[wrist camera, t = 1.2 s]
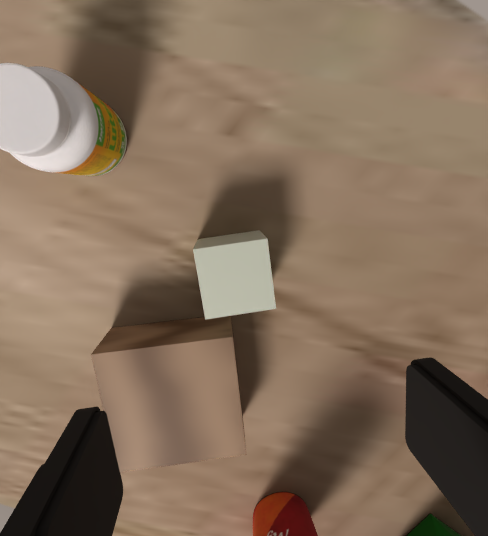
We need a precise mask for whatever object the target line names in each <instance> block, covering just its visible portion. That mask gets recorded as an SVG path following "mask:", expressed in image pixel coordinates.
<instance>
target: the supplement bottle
mask: <svg viewBox="0 0 488 536" xmlns="http://www.w3.org/2000/svg"><path fill="white" fill-rule="evenodd" d="M126 146H127V137H126V131H125V128H124V125H123V123H122V121H121V119H120V118H119V116H118V115H117V114H116V112H115V111H114V110H113V109H112V108H110V107H109V106H108V105H107V104H106V103H104V102H103V101H102V100H100V99H99V98H98V97H96V96H95V95H94V94H92V93H91V92H89V91H88V90H87V89H85V88H84V87H83V86H81V85H80V84H79V83H77V82H76V81H75V80H73V79H72V78H70V77H69V76H67V75H65V74H64V73H62V72H60V71H57V70H54V69H51V68H47V67H39V66H34V67H26V66H24V65H20V64H15V63H2V64H0V149H2V150H4V151H7V152H9V153H10V154H11V155H13V156H14V157H15V158H16V159H17V160H19V161H20V162H22V163H24V164H25V165H27V166H29V167H32V168H34V169H37V170H41V171H46V172H53V173H64V174H74V175H83V176H98V175H103V174H106V173H108V172H110V171H111V170H113V169H114V168H115V167H116V166H117V165H118V164H119V163H120V162H121V160H122V159H123V156H124V154H125V151H126Z"/></svg>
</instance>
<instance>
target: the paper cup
mask: <svg viewBox="0 0 488 536" xmlns="http://www.w3.org/2000/svg"><path fill="white" fill-rule="evenodd" d="M253 536H318V535H317V532H316V529H315V527H314V524H313V521H312V518H311V516H310V513H309V510H308V508H307V506H306V504H305V502H304V501H303V500H302V499H301V498H300V497H299V496H297V495H295V494H293V493H289V492H278V493H273V494H271V495H268V496H266V497H265V498H263V499H262V500H261V501H260V502H259V503H258V504H257V506H256V508H255V510H254V513H253Z"/></svg>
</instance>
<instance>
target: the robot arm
mask: <svg viewBox="0 0 488 536" xmlns="http://www.w3.org/2000/svg"><path fill="white" fill-rule="evenodd" d="M405 437H406V443H407V446H408V448H409V450H410V451H411V452H412V454H413V455H414V456H415V458H416V459H417V460H418V462H419V463H420V464H421V465H422V467H423V468H424V469H425V471H426V472H427V473H428V475H429V476H430V477H431V479H432V480H433V481H434V483H435V484H436V485H437V486H438V488H439V489H440V490H441V492H442V493H443V494H444V496H445V497H446V498H447V500H448V501H449V502H450V503H451V505H452V506H453V507H454V509H455V510H456V511H457V513H458V514H459V515H460V517H461V518H462V519H463V520H464V522H465V523H466V524H467V526H468V527H469V528H470V530H471V531H472V532H473V534H474V535H475V536H488V399H486V398H485V397H484V396H482V395H481V394H480V393H478V392H477V391H476V390H474V389H473V388H472V387H470V386H469V385H468V384H467V383H465V382H464V381H463V380H461V379H460V378H459V377H457V376H456V375H455V374H453V373H452V372H451V371H450V370H448V369H447V368H446V367H444V366H443V365H442V364H440V363H439V362H438V361H436V360H435V359H434V358H423V359H417V360H413V361H412V362H411V365H409V366H408V367H407V370H406V431H405ZM122 496H123V484H122V479H121V475H120V470H119V466H118V462H117V457H116V453H115V448H114V444H113V439H112V435H111V431H110V426H109V422H108V417H107V414H106V412H105V411H100V409H99V407H91V408H85V409H78V410H76V412H75V413H74V415H73V416H72V418H71V420H70V422H69V423H68V425H67V427H66V428H65V430H64V432H63V433H62V435H61V437H60V439H59V440H58V442H57V444H56V445H55V447H54V449H53V451H52V452H51V454H50V456H49V457H48V459H47V461H46V462H45V464H43V465H42V466H41V467H40V468H39V469H38V471H37V472H36V474H35V476H34V477H33V479H32V481H31V483H30V484H29V486H28V488H27V489H26V491H25V493H24V494H23V496H22V498H21V499H20V501H19V503H18V504H17V506H16V508H15V509H14V511H13V513H12V514H11V516H10V518H9V519H8V521H7V523H6V524H5V526H4V528H3V530H2V531H1V533H0V536H112V534H113V530H114V527H115V523H116V519H117V516H118V512H119V508H120V505H121V501H122Z"/></svg>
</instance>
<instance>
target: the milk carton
mask: <svg viewBox="0 0 488 536" xmlns="http://www.w3.org/2000/svg"><path fill="white" fill-rule="evenodd" d="M407 536H461V535H460V534H458V533H457V532H455V531H454V530H453V529H451V528H450V527H448V526H447V525H446V524H444V523H443V522H441V521H440V520H439V519H437V518H436V517H434V516H433V515H432V514H429V515H428V516H427V517H426V518H425V519H424V520H423V521H422V522H421V523H420V524H419V525H418V526H416V527H415V528H414V529H413V530H412V531H411V532H410V533H409V534H408V535H407Z"/></svg>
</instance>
